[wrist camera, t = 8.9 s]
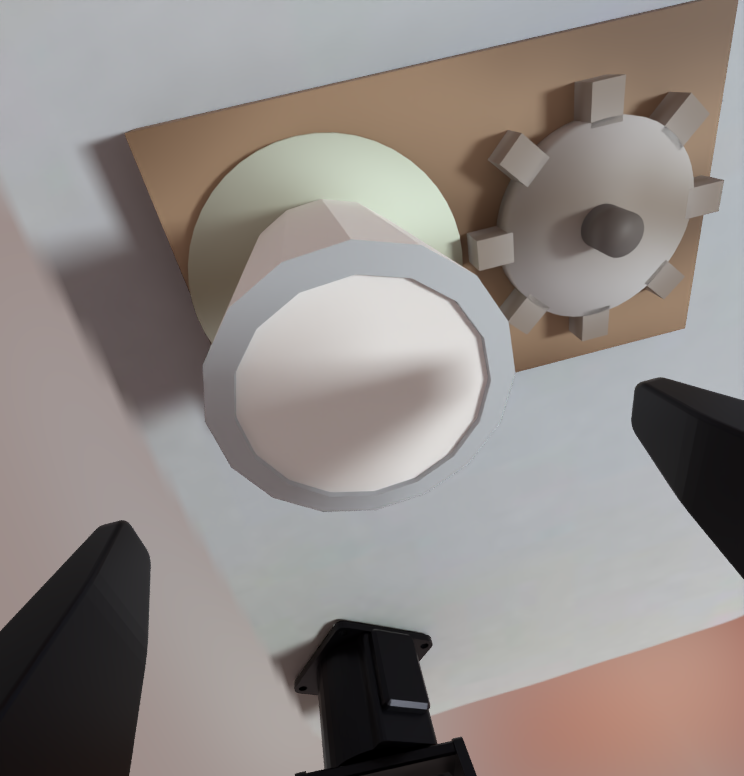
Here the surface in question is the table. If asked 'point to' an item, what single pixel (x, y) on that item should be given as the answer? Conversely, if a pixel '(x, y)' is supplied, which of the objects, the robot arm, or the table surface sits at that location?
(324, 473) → the shot glass
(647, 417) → the robot arm
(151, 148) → the gear board
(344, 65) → the table surface
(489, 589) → the table surface
